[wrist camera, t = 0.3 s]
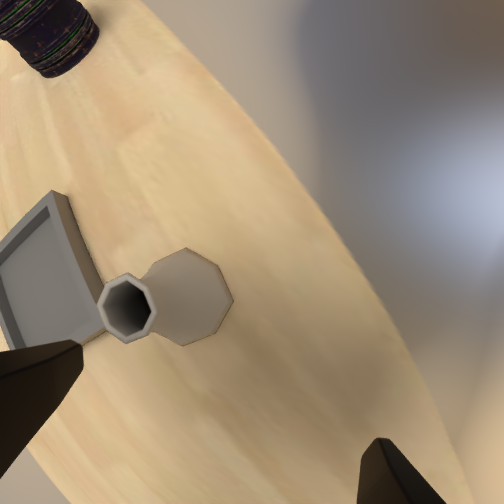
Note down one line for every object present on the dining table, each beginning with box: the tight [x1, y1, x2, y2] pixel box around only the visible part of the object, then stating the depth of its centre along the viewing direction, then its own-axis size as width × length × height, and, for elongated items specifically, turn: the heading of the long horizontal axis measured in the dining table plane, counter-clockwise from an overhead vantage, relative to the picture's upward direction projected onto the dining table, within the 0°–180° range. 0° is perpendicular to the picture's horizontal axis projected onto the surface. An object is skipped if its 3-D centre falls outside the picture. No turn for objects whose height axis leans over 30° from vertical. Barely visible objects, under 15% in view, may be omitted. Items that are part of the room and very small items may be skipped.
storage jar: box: [0, 0, 99, 78], centre depth 19 cm, size 10×10×15 cm
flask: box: [96, 248, 233, 346], centre depth 18 cm, size 7×7×10 cm
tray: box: [0, 190, 107, 350], centre depth 23 cm, size 13×13×2 cm
